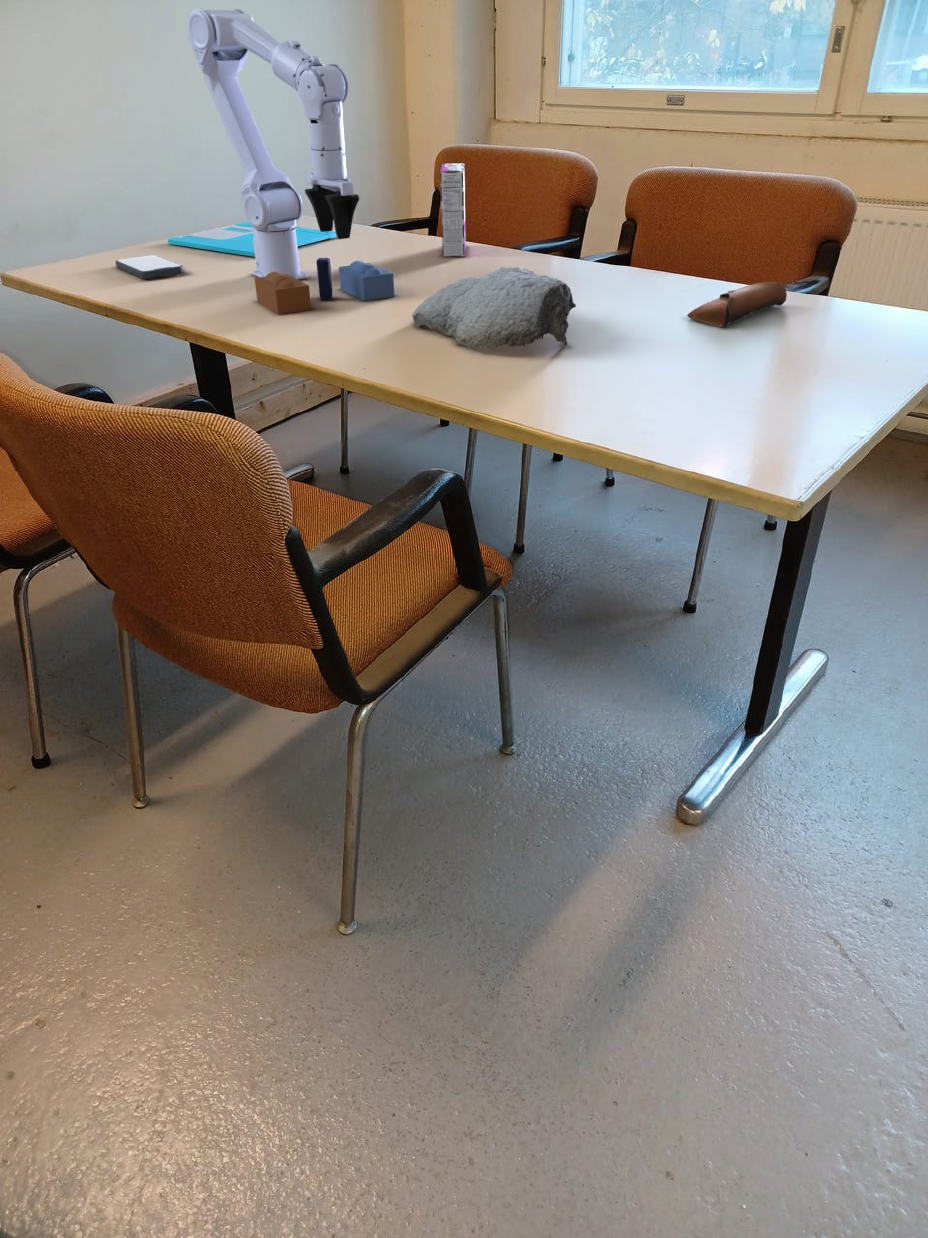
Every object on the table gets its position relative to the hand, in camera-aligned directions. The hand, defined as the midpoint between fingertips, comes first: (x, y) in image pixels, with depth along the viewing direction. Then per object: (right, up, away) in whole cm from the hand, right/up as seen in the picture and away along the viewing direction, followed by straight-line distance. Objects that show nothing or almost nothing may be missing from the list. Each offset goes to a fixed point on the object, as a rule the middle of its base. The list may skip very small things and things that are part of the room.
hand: (334, 234), depth 157 cm
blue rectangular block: (+5, -9, +3) cm, 11 cm away
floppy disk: (-25, +17, +43) cm, 53 cm away
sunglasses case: (+68, -18, -10) cm, 71 cm away
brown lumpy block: (-8, -14, -4) cm, 17 cm away
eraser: (-1, -12, -1) cm, 12 cm away
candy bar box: (+21, +10, +32) cm, 39 cm away
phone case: (-40, +1, +19) cm, 44 cm away
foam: (+28, -23, -18) cm, 41 cm away
